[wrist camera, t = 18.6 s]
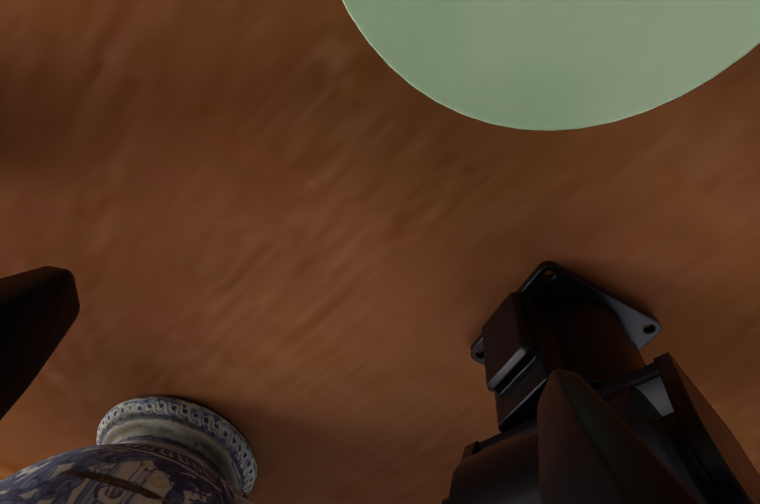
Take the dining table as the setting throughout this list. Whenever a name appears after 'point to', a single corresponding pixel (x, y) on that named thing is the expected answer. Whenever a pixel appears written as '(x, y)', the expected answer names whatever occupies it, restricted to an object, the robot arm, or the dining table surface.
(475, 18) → the lid
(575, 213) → the dining table surface
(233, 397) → the dining table surface
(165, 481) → the decorative vase
